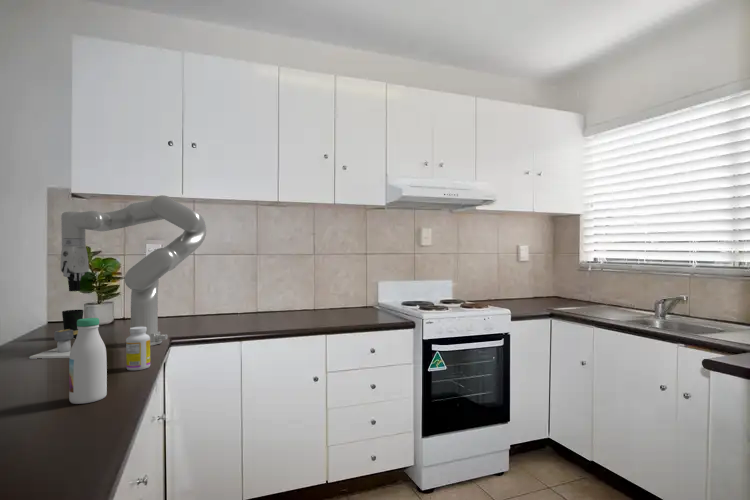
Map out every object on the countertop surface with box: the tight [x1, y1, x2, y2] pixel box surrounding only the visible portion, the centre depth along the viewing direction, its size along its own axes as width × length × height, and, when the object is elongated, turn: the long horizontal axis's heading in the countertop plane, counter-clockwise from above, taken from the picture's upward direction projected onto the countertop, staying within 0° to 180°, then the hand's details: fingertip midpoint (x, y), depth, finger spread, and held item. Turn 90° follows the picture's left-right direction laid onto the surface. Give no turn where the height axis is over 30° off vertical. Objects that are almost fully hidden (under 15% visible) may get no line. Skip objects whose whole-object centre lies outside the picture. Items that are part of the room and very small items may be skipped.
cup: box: [61, 309, 84, 338], centre depth 183 cm, size 8×8×12 cm
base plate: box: [29, 339, 72, 360], centre depth 154 cm, size 14×14×5 cm
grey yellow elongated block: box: [53, 329, 78, 342], centre depth 157 cm, size 12×6×5 cm, turn 171°
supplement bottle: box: [125, 327, 151, 371], centre depth 133 cm, size 7×7×13 cm
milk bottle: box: [68, 317, 108, 405], centre depth 104 cm, size 8×8×20 cm
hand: (74, 291), depth 162 cm, fingers closed
